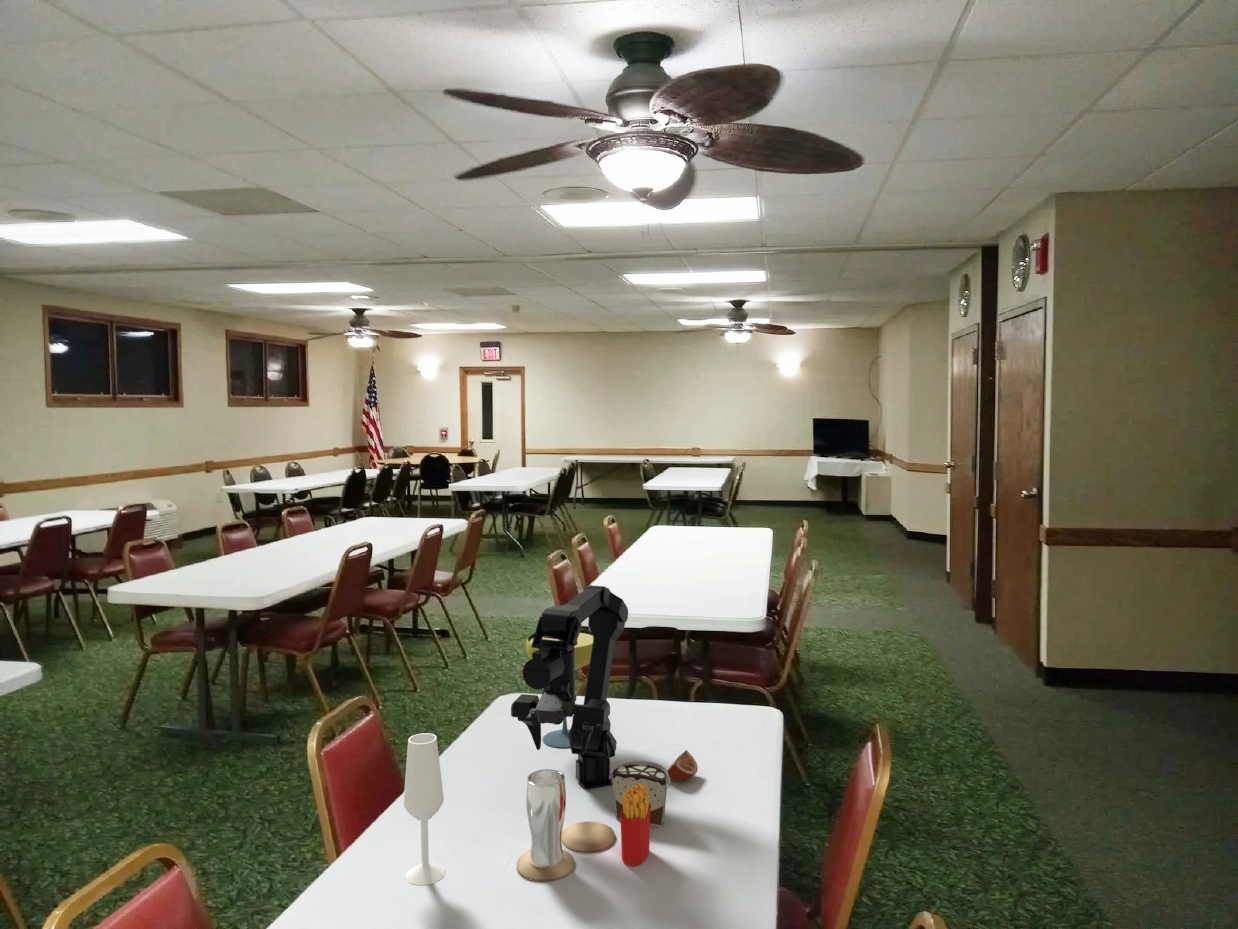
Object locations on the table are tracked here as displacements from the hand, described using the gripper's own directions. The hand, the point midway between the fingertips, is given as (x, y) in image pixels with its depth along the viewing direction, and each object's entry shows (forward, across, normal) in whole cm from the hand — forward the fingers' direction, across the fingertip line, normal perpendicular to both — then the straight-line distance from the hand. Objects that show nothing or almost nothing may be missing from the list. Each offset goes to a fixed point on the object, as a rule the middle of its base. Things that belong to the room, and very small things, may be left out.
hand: (561, 751), depth 162 cm
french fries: (+13, +17, -11) cm, 24 cm away
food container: (+13, +16, +4) cm, 21 cm away
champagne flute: (+13, -17, -25) cm, 33 cm away
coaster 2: (+13, +7, -7) cm, 16 cm away
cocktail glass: (+13, -10, +37) cm, 40 cm away
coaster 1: (+13, +2, -18) cm, 22 cm away
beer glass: (+13, +2, -17) cm, 21 cm away
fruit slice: (+13, +21, +21) cm, 32 cm away
